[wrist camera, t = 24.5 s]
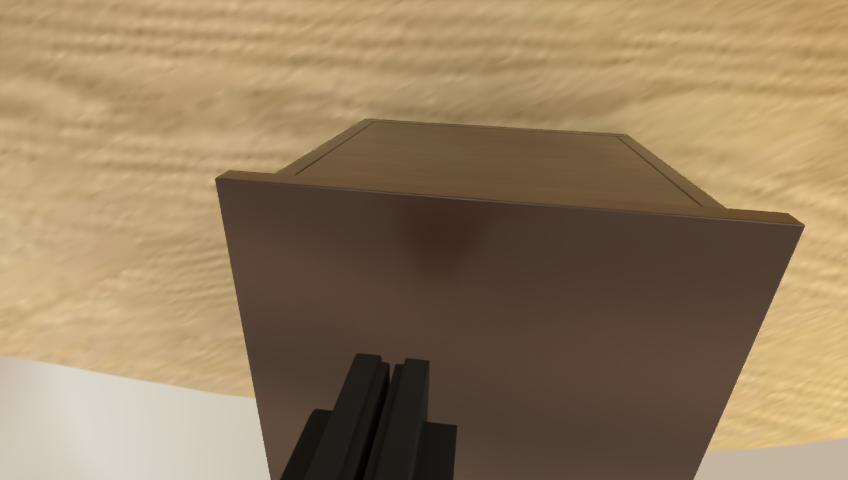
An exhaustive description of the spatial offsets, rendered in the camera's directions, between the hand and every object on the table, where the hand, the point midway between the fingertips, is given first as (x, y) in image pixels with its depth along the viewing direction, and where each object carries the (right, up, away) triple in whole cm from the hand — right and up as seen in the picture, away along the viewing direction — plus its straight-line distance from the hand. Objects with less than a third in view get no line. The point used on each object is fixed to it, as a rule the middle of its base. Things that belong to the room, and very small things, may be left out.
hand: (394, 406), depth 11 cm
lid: (+2, -2, +6) cm, 6 cm away
